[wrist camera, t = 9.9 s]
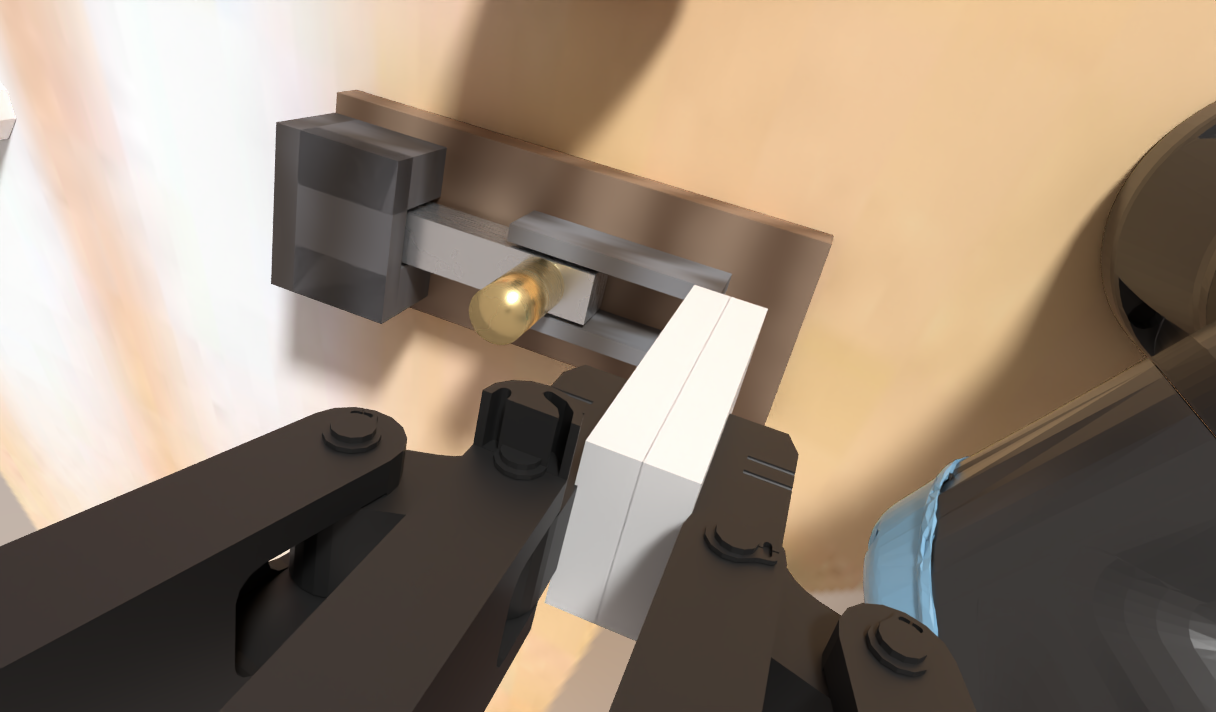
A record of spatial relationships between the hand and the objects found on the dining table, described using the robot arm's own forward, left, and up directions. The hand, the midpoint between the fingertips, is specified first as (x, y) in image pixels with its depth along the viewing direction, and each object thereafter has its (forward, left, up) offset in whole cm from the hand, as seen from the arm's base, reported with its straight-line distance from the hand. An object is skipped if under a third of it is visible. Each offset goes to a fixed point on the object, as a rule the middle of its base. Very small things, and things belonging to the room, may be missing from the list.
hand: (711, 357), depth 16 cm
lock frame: (+12, +10, -29) cm, 33 cm away
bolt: (+17, +10, -27) cm, 33 cm away
